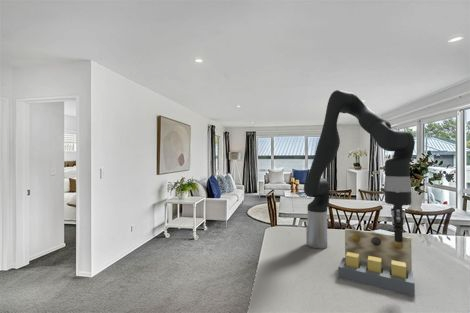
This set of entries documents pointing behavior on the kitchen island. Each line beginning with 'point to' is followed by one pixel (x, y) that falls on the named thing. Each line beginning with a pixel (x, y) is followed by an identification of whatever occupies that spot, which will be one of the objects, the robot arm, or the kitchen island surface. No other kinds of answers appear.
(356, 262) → the button left
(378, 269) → the button mid
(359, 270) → the board
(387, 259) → the card
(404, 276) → the button right
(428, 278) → the kitchen island surface
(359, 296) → the kitchen island surface
